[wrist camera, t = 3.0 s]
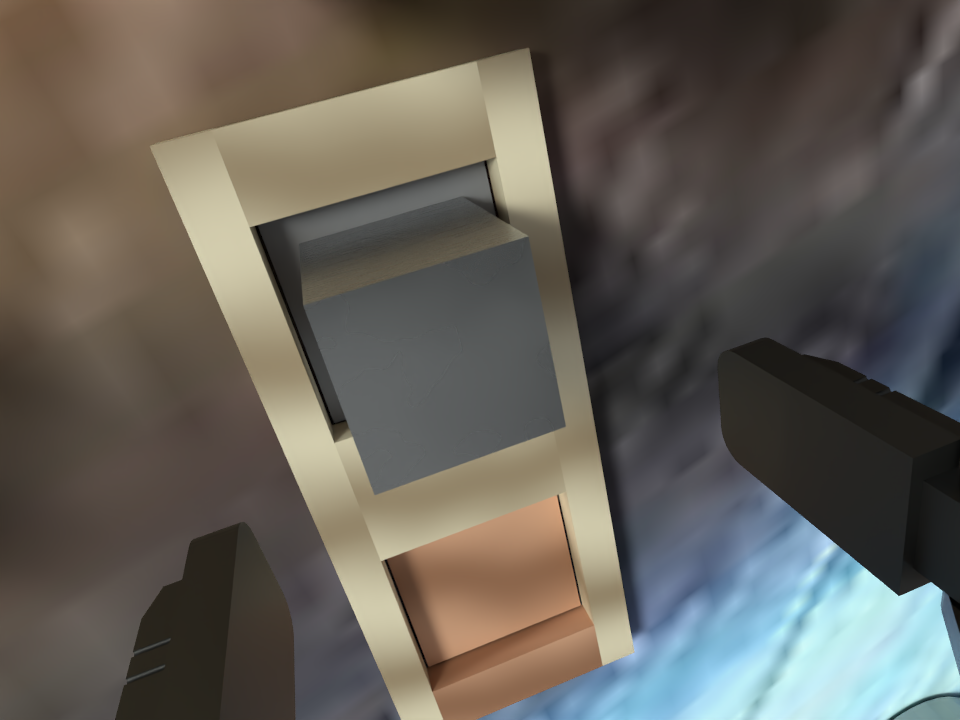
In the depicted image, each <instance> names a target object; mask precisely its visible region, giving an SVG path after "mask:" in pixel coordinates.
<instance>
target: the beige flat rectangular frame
mask: <svg viewBox="0 0 960 720" xmlns="http://www.w3.org/2000/svg"><path fill="white" fill-rule="evenodd" d="M150 148H151V150H152V152H153V155H154V157H155V159H156V162H157V164H158V166H159V168H160V171H161V173H162V175H163V178H164V180H165V182H166V184H167V187H168V189H169V191H170V193H171V196H172V198H173V200H174V203H175V205H176V207H177V209H178V212H179V214H180V216H181V219H182V221H183V223H184V225H185V228H186V230H187V232H188V235H189V237H190V239H191V241H192V244H193V246H194V248H195V250H196V253H197V255H198V257H199V260H200V262H201V264H202V266H203V269H204V271H205V273H206V276H207V278H208V280H209V282H210V285H211V287H212V289H213V291H214V294H215V296H216V298H217V301H218V303H219V305H220V307H221V310H222V312H223V314H224V317H225V319H226V321H227V323H228V326H229V328H230V330H231V332H232V335H233V337H234V339H235V342H236V344H237V346H238V348H239V351H240V353H241V355H242V358H243V360H244V362H245V364H246V367H247V369H248V371H249V374H250V376H251V378H252V380H253V383H254V385H255V387H256V389H257V392H258V394H259V396H260V399H261V401H262V403H263V405H264V408H265V410H266V412H267V415H268V417H269V419H270V421H271V424H272V426H273V428H274V430H275V433H276V435H277V437H278V440H279V442H280V444H281V446H282V449H283V451H284V453H285V456H286V458H287V460H288V462H289V465H290V467H291V469H292V471H293V474H294V476H295V478H296V481H297V483H298V485H299V487H300V490H301V492H302V494H303V497H304V499H305V501H306V503H307V506H308V508H309V510H310V513H311V515H312V517H313V519H314V522H315V524H316V526H317V528H318V531H319V533H320V535H321V538H322V540H323V542H324V544H325V547H326V549H327V551H328V554H329V556H330V558H331V560H332V563H333V565H334V567H335V569H336V572H337V574H338V576H339V579H340V581H341V583H342V585H343V588H344V590H345V592H346V595H347V597H348V599H349V601H350V604H351V606H352V608H353V610H354V613H355V615H356V617H357V620H358V622H359V624H360V626H361V629H362V631H363V633H364V636H365V638H366V640H367V642H368V645H369V647H370V649H371V652H372V654H373V656H374V658H375V661H376V663H377V665H378V667H379V670H380V672H381V674H382V677H383V679H384V681H385V683H386V686H387V688H388V690H389V693H390V695H391V697H392V699H393V702H394V704H395V706H396V708H397V711H398V713H399V715H400V718H401V720H476V719H478V718H481V717H483V716H485V715H488V714H490V713H493V712H495V711H497V710H500V709H502V708H504V707H507V706H509V705H511V704H514V703H516V702H519V701H521V700H523V699H526V698H528V697H530V696H533V695H535V694H537V693H540V692H542V691H544V690H547V689H549V688H552V687H554V686H556V685H559V684H561V683H563V682H566V681H568V680H570V679H573V678H575V677H578V676H580V675H582V674H585V673H587V672H589V671H592V670H594V669H596V668H599V667H601V666H603V665H606V664H608V663H611V662H613V661H615V660H618V659H620V658H622V657H625V656H627V655H629V654H632V653H634V647H633V642H632V636H631V630H630V625H629V619H628V613H627V607H626V602H625V596H624V590H623V584H622V579H621V573H620V567H619V561H618V556H617V550H616V544H615V538H614V533H613V527H612V521H611V515H610V510H609V504H608V498H607V492H606V487H605V481H604V475H603V470H602V464H601V458H600V452H599V447H598V441H597V435H596V429H595V424H594V418H593V412H592V406H591V401H590V395H589V389H588V383H587V378H586V372H585V366H584V360H583V355H582V349H581V343H580V338H579V332H578V326H577V320H576V315H575V309H574V303H573V297H572V292H571V286H570V280H569V274H568V269H567V263H566V257H565V251H564V246H563V240H562V234H561V228H560V223H559V217H558V211H557V205H556V200H555V194H554V188H553V183H552V177H551V171H550V165H549V160H548V154H547V148H546V142H545V137H544V131H543V125H542V119H541V114H540V108H539V102H538V96H537V91H536V85H535V79H534V73H533V68H532V62H531V56H530V51H529V48H525V49H519V50H514V51H510V52H506V53H503V54H499V55H495V56H491V57H487V58H483V59H479V60H476V61H472V62H468V63H464V64H460V65H456V66H452V67H449V68H445V69H441V70H437V71H433V72H429V73H425V74H421V75H418V76H414V77H410V78H406V79H402V80H398V81H394V82H391V83H387V84H383V85H379V86H375V87H371V88H367V89H364V90H360V91H356V92H352V93H348V94H344V95H340V96H336V97H333V98H329V99H325V100H321V101H317V102H313V103H309V104H306V105H302V106H298V107H294V108H290V109H286V110H282V111H279V112H275V113H271V114H267V115H263V116H259V117H255V118H251V119H248V120H244V121H240V122H236V123H232V124H228V125H224V126H221V127H217V128H213V129H209V130H205V131H201V132H197V133H194V134H190V135H186V136H182V137H178V138H174V139H170V140H166V141H163V142H159V143H156V144H154V145H151V146H150ZM484 160H486V162H487V166H488V171H489V175H490V180H491V185H492V189H493V194H494V199H495V203H496V208H497V212H498V217H499V219H501V220H502V221H504V222H506V223H507V224H509V225H511V226H512V227H514V228H516V229H517V230H519V231H521V232H522V233H524V234H526V235H527V236H529V242H530V247H531V252H532V257H533V262H534V267H535V272H536V277H537V282H538V287H539V292H540V297H541V302H542V307H543V312H544V317H545V322H546V327H547V332H548V337H549V343H550V348H551V353H552V358H553V363H554V368H555V373H556V378H557V383H558V388H559V393H560V398H561V403H562V408H563V413H564V418H565V423H566V427H564V428H561V429H558V430H556V431H553V432H550V433H547V434H544V435H542V436H539V437H536V438H533V439H530V440H528V441H525V442H522V443H519V444H517V445H514V446H511V447H508V448H505V449H503V450H500V451H497V452H494V453H491V454H489V455H486V456H483V457H480V458H477V459H475V460H472V461H469V462H466V463H464V464H461V465H458V466H455V467H452V468H450V469H447V470H444V471H441V472H438V473H436V474H433V475H430V476H427V477H425V478H422V479H419V480H416V481H413V482H411V483H408V484H405V485H402V486H399V487H397V488H394V489H391V490H388V491H385V492H383V493H380V494H377V495H374V492H373V490H372V487H371V484H370V482H369V479H368V476H367V474H366V471H365V468H364V466H363V463H362V460H361V458H360V455H359V452H358V450H357V447H356V444H355V442H354V439H353V436H352V434H351V431H350V428H349V426H348V423H347V421H344V422H341V423H338V424H335V425H332V424H331V421H330V419H329V416H328V414H327V411H326V408H325V406H324V403H323V401H322V398H321V396H320V393H319V391H318V388H317V385H316V383H315V380H314V378H313V375H312V373H311V370H310V367H309V365H308V362H307V360H306V357H305V355H304V352H303V349H302V347H301V344H300V342H299V339H298V337H297V334H296V332H295V329H294V326H293V324H292V321H291V319H290V316H289V314H288V311H287V308H286V306H285V303H284V301H283V298H282V296H281V293H280V290H279V288H278V285H277V283H276V280H275V278H274V275H273V273H272V270H271V267H270V265H269V262H268V260H267V257H266V255H265V252H264V249H263V247H262V244H261V242H260V239H259V237H258V234H257V231H256V229H255V226H256V225H258V228H259V230H260V233H261V235H262V238H263V241H264V243H265V246H266V248H267V251H268V253H269V256H270V259H271V261H272V264H273V266H274V269H275V272H276V274H277V277H278V279H279V282H280V284H281V287H282V290H283V292H284V295H285V297H286V300H287V303H288V305H289V308H290V310H291V313H292V315H293V318H294V321H295V323H296V326H297V328H298V331H299V334H300V336H301V339H302V341H303V344H304V346H305V349H306V352H307V354H308V357H309V359H310V362H311V365H312V367H313V370H314V372H315V375H316V377H317V380H318V383H319V385H320V388H321V390H322V393H323V395H324V398H325V401H326V403H327V406H328V408H329V411H330V414H331V416H332V419H333V421H334V423H337V422H340V421H343V420H346V418H345V415H344V413H343V410H342V407H341V405H340V402H339V399H338V397H337V394H336V391H335V389H334V386H333V383H332V381H331V378H330V375H329V373H328V370H327V367H326V365H325V362H324V359H323V357H322V354H321V351H320V349H319V346H318V343H317V341H316V338H315V336H314V333H313V330H312V328H311V325H310V322H309V320H308V317H307V314H306V312H305V309H304V306H303V296H302V281H301V267H300V252H299V244H300V243H303V242H306V241H310V240H313V239H317V238H320V237H324V236H327V235H330V234H334V233H337V232H341V231H344V230H348V229H351V228H354V227H358V226H361V225H365V224H368V223H372V222H375V221H378V220H382V219H385V218H389V217H392V216H396V215H399V214H402V213H406V212H409V211H413V210H416V209H420V208H423V207H426V206H430V205H433V204H437V203H440V202H444V201H447V200H450V199H454V198H457V197H461V196H462V197H464V198H466V199H467V200H469V201H471V202H472V203H474V204H476V205H477V206H479V207H481V208H482V209H484V210H486V211H487V212H489V213H491V214H492V215H494V216H496V214H495V210H494V205H493V200H492V196H491V191H490V187H489V182H488V178H487V173H486V168H485V164H484ZM557 495H559V499H560V504H561V508H562V513H563V518H564V522H565V527H566V531H567V536H568V541H569V545H570V550H571V555H572V559H573V564H574V568H575V573H576V578H577V582H578V587H579V592H580V596H581V601H582V605H581V604H580V600H579V595H578V590H577V586H576V581H575V577H574V572H573V568H572V563H571V558H570V554H569V549H568V545H567V540H566V535H565V531H564V526H563V522H562V517H561V512H560V508H559V503H558V499H557ZM385 559H387V561H388V563H389V566H390V568H391V571H392V574H393V576H394V579H395V581H396V584H397V587H398V589H399V592H400V594H401V597H402V599H403V602H404V605H405V607H406V610H407V612H408V615H409V618H410V620H411V623H412V625H413V628H414V630H415V633H416V636H417V638H418V641H419V643H420V646H421V649H422V651H423V654H424V656H425V659H426V661H427V664H428V667H427V668H426V665H425V662H424V660H423V657H422V655H421V652H420V650H419V647H418V645H417V642H416V639H415V637H414V634H413V632H412V629H411V627H410V624H409V621H408V619H407V616H406V614H405V611H404V609H403V606H402V603H401V601H400V598H399V596H398V593H397V591H396V588H395V586H394V583H393V580H392V578H391V575H390V573H389V570H388V568H387V565H386V562H385Z"/></svg>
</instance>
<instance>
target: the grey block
mask: <svg viewBox="0 0 960 720" xmlns="http://www.w3.org/2000/svg"><path fill="white" fill-rule="evenodd" d="M299 252H300V267H301V281H302V296H303V306H304V309H305V312H306V314H307V317H308V320H309V322H310V325H311V328H312V330H313V333H314V336H315V338H316V341H317V343H318V346H319V349H320V351H321V354H322V357H323V359H324V362H325V365H326V367H327V370H328V373H329V375H330V378H331V381H332V383H333V386H334V389H335V391H336V394H337V397H338V399H339V402H340V405H341V407H342V410H343V413H344V415H345V418H346V421H347V423H348V426H349V428H350V431H351V434H352V436H353V439H354V442H355V444H356V447H357V450H358V452H359V455H360V458H361V460H362V463H363V466H364V468H365V471H366V474H367V476H368V479H369V482H370V484H371V487H372V490H373V492H374V495H377V494H380V493H383V492H385V491H388V490H391V489H394V488H397V487H399V486H402V485H405V484H408V483H411V482H413V481H416V480H419V479H422V478H425V477H427V476H430V475H433V474H436V473H438V472H441V471H444V470H447V469H450V468H452V467H455V466H458V465H461V464H464V463H466V462H469V461H472V460H475V459H477V458H480V457H483V456H486V455H489V454H491V453H494V452H497V451H500V450H503V449H505V448H508V447H511V446H514V445H517V444H519V443H522V442H525V441H528V440H530V439H533V438H536V437H539V436H542V435H544V434H547V433H550V432H553V431H556V430H558V429H561V428H564V427H566V423H565V418H564V413H563V408H562V403H561V398H560V393H559V388H558V383H557V378H556V373H555V368H554V363H553V358H552V353H551V348H550V343H549V337H548V332H547V327H546V322H545V317H544V312H543V307H542V302H541V297H540V292H539V287H538V282H537V277H536V272H535V267H534V262H533V257H532V252H531V247H530V242H529V236H527V235H526V234H524V233H522V232H521V231H519V230H517V229H516V228H514V227H512V226H511V225H509V224H507V223H506V222H504V221H502V220H501V219H499V218H497V217H496V216H494V215H492V214H491V213H489V212H487V211H486V210H484V209H482V208H481V207H479V206H477V205H476V204H474V203H472V202H471V201H469V200H467V199H466V198H464V197H462V196H461V197H457V198H454V199H450V200H447V201H444V202H440V203H437V204H433V205H430V206H426V207H423V208H420V209H416V210H413V211H409V212H406V213H402V214H399V215H396V216H392V217H389V218H385V219H382V220H378V221H375V222H372V223H368V224H365V225H361V226H358V227H354V228H351V229H348V230H344V231H341V232H337V233H334V234H330V235H327V236H324V237H320V238H317V239H313V240H310V241H306V242H303V243H300V244H299Z"/></svg>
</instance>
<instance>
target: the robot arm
mask: <svg viewBox="0 0 960 720" xmlns="http://www.w3.org/2000/svg"><path fill="white" fill-rule="evenodd" d="M718 381H719V397H720V412H721V428H722V434H723V438H724V441H725V443H726V446H727V447H728V449H729V451H730V453H731V454H732V456H733V457H734V459H735V460H736V461H737V462H738V463H739V464H740V465H741V466H743V467H744V468H745V469H746V470H747V471H749V472H750V473H751V474H752V475H753V476H755V477H756V478H757V479H758V480H760V481H761V482H762V483H763V484H764V485H766V486H767V487H768V488H769V489H770V490H772V491H773V492H774V493H775V494H776V495H778V496H779V497H780V498H781V499H782V500H784V501H785V502H786V503H787V504H789V505H790V506H791V507H792V508H793V509H795V510H796V511H797V512H798V513H799V514H801V515H802V516H803V517H804V518H805V519H807V520H808V521H809V522H810V523H811V524H813V525H814V526H815V527H816V528H817V529H819V530H820V531H821V532H822V533H824V534H825V535H826V536H827V537H828V538H830V539H831V540H832V541H833V542H834V543H836V544H837V545H838V546H839V547H840V548H842V549H843V550H844V551H845V552H846V553H848V554H849V555H850V556H851V557H853V558H854V559H855V560H856V561H857V562H859V563H860V564H861V565H862V566H863V567H865V568H866V569H867V570H868V571H869V572H871V573H872V574H873V575H874V576H875V577H877V578H878V579H879V580H880V581H882V582H883V583H884V584H885V585H886V586H888V587H889V588H890V589H891V590H892V591H894V592H895V593H896V594H897V595H898V596H900V595H903V594H905V593H907V592H909V591H912V590H914V589H916V588H918V587H921V586H923V585H925V584H927V583H930V582H932V583H933V584H935V585H936V586H937V587H938V588H940V589H941V590H942V591H943V593H942V600H941V610H942V614H943V618H944V621H945V625H946V628H947V632H948V635H949V639H950V642H951V646H952V650H953V653H954V657H955V660H956V664H957V667H958V671H959V674H960V423H959V422H957V421H955V420H953V419H951V418H949V417H947V416H945V415H943V414H941V413H939V412H937V411H935V410H933V409H931V408H929V407H927V406H925V405H923V404H921V403H919V402H917V401H915V400H913V399H911V398H909V397H907V396H905V395H903V394H901V393H899V392H897V391H893V392H891V391H890V389H889V387H887V386H885V385H883V384H881V383H879V382H877V381H875V380H873V379H870V380H868V379H867V378H866V376H865V375H863V374H861V373H859V372H857V371H855V370H853V369H851V368H849V367H847V366H845V365H843V364H841V363H839V362H835V361H831V360H826V359H822V358H818V357H813V356H809V355H805V354H804V355H801V354H799V353H797V352H795V351H793V350H791V349H789V348H787V347H785V346H784V345H782V344H780V343H778V342H776V341H774V340H772V339H769V338H761V339H758V340H755V341H753V342H750V343H747V344H744V345H741V346H739V347H736V348H733V349H730V350H727V351H725V352H723V353H722V354H721V355H720V357H719V359H718ZM133 652H134V657H132V658H131V661H130V665H129V669H128V673H127V676H126V680H127V685H124V688H123V692H122V695H121V699H120V703H119V707H118V711H117V714H116V718H115V720H295V678H294V634H293V626H292V620H291V616H290V612H289V608H288V605H287V602H286V599H285V597H284V594H283V592H282V590H281V588H280V586H279V584H278V582H277V580H276V578H275V576H274V574H273V572H272V570H271V568H270V566H269V564H268V562H267V560H266V558H265V556H264V554H263V552H262V550H261V548H260V546H259V544H258V542H257V540H256V538H255V536H254V534H253V533H252V531H251V529H250V528H249V526H248V525H247V524H246V523H244V522H241V523H238V524H235V525H232V526H230V527H227V528H224V529H221V530H218V531H216V532H213V533H210V534H207V535H204V536H202V537H199V538H196V539H193V540H192V541H191V543H190V545H189V550H188V554H187V559H186V564H185V569H184V574H183V579H182V580H180V581H178V582H175V583H172V584H170V585H167V586H164V587H163V588H162V590H161V591H160V593H159V594H158V596H157V597H156V599H155V600H154V602H153V603H152V605H151V606H150V607H149V609H148V610H147V612H146V613H145V615H144V616H143V618H142V620H141V623H140V627H139V631H138V635H137V639H136V642H135V646H134V650H133ZM893 720H960V698H957V697H941V698H936V699H932V700H929V701H926V702H923V703H921V704H919V705H917V706H915V707H912V708H910V709H909V710H907V711H906V712H904V713H902V714H901V715H899V716H897V717H896V718H895V719H893Z"/></svg>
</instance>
